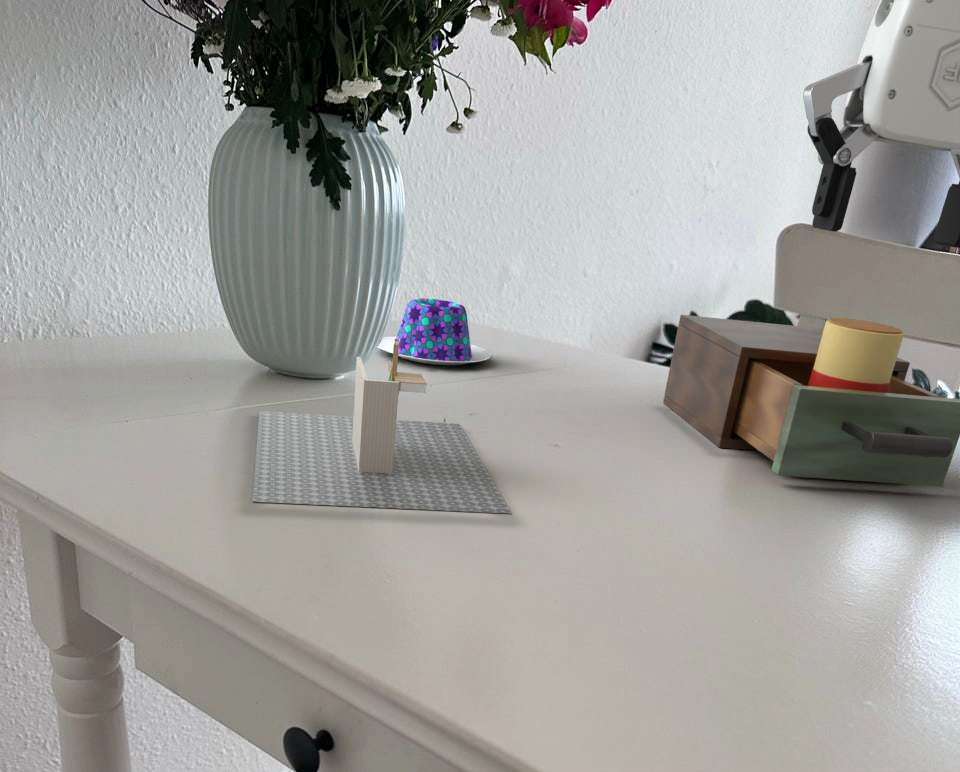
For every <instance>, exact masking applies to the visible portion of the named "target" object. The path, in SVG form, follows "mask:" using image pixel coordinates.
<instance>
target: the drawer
mask: <svg viewBox="0 0 960 772" xmlns="http://www.w3.org/2000/svg"><path fill="white" fill-rule="evenodd" d="M813 367H814V364H811V363H800V362H789V361H778V360H767V359H756V358H749V359H748V364H747V368H746V372H745V376H744V381H743V385H742V389H741V393H740V398H739V402H738V406H737V410H736V414H735V419H734V423H733V427H732V431H733V432H734V433H736V434H737V435H738V436H740V437H741V438H743V439H744V440H745V441H747V442H748V443H749V444H751V445H752V446H753V447H755V448H756V449H757V450H756V451H758V450H759V452H760V453H762V454H763V455H764V456H766V457H767V458H768V459H769V460H771V461H772V466H771V472H773V473H774V474H775V475H777V476H780V477H796V478H810V479H824V480H839V481H853V482H855V481H856V482H857V481H858V482H870V483H883V484H884V483H885V484H900V485H915V486H916V485H917V486H931V487H943V486H944V482H945V480H946V477H947V475H948V471H949V469H950V465H951V462H952V460H953V456H954V454H955V451H956V449H957V445H958V443H959V440H960V398H950V397H942V396H941V395H939V394H936V393H934V392H932V391H929V390H927V389H924V388H922V387H920V386H917V385H915V384H913V383H910V382H909V381H907V380H905V381H904V380H902V379H899V378H897V377H895V376H893V375H891V379H890V384H889V388H888V391H887V393H882V392H870V391H858V390H847V389H835V388H824V387H812V386H808V384H809V380H810V377H811V373H812V369H813Z"/></svg>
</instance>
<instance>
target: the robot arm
mask: <svg viewBox="0 0 960 772" xmlns="http://www.w3.org/2000/svg"><path fill="white" fill-rule="evenodd" d="M875 9H876V10H875V12H874V15H873V17H872V18H871V19H872V20H871V22H870V24H869V27H868V30H867V33H866V35H865V38H864V41H863V44H862V46H861V50H860V53H859V56H858V59H857V62H856V65H853V66H851V67H849V68H846V69H844V70H841V71H839V72H836V73H834V74H831V75H830V76H827V77H824V78H822V79H819V80H817V81H815V82H813V83H810V84H807V86H805V88H803V92H802V97H803V104H804V109H805V117H806V120H807V121H808V125H807V134H808V136H809V138H810V140H811V142H812V144H813V146H814V148H815V149H816V152H817V160H818V162H819V164H821V165H822V168H821V172H820V175H819V180H818V184H817V187H816V192H815V195H814V199H813V203H812V207H811V212H812V213H811V214H812V215H813V219H812V223H811V224H812V225H811V226H812V228H813V229H818V230H824V231H828V232H833V233H834V232H835V233H836V232H839V231H840V230H842V228H843V225H844V223H845V222H844V221H845V218H846V214H847V210H848V207H849V204H850V203H849V202H850V200H851V197H852V196H851V195H852V191H853V189H854V184H855V181H856V177H857V168H856V167H852V163H853V161H854V160H855V159H856V158H857V157H858V156H859V155H860V154H861V153H862V152H863V151H864V150H866V149H867V148H868V147H869V146H870V145H871V144H872V143H873V142H880V143H886V144H893V145H897V146H898V145H899V146H906V147H912V148H918V149H926V150H932V151H940V152H950V154H951V157H952V160H953V164H954V166H955V170H956V173H957V176H958V178H959V179H960V0H879V2H878V4H877V7H876V8H875ZM845 94H847V96H846V101H845V106H844V109H843V117H842V124H843V125H842V126H843V127H842V128H841V129H839V128H838V126H837V124H836V122H835V120H834V119H833V115H832V113H833V110H832V105H833V102H834V100H835V99H836V98H838V97H840V96H843V95H845ZM932 240H933V242H934V244H936V245H939V246H945V247H950V248H956V249H960V180H959V181H958V183H951V185H950V186H949V188H948V190H947V193H946V196H945V200H944V203H943V206H942V209H941V212H940V216H939V219H938V222H937V225H936V229H935V232H934V234H933V239H932Z"/></svg>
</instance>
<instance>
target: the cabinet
mask: <svg viewBox="0 0 960 772" xmlns="http://www.w3.org/2000/svg"><path fill="white" fill-rule="evenodd" d="M823 330H824V328H820V327H810V326H800V325H792V324H791V325H789V324H779V323H770V322H769V323H768V322H759V321H750V320H739V319H731V318H719V317H708V316H700V315H699V316H698V315H688V314H680V316H679V321H678V326H677V331H676V335H675V339H674V346H673V349H672V355H671V360H670V365H669V369H668V375H667V381H666V384H665V391H664V396H663V399H662V403H663V404H664V405H665V406H667V408H669V409H670V410H671V411H673V412H674V413H675V414H676V415H678V416H679V417H680V418H681V419H683V420H684V421H685V422H687V424H689V425H690V426H691V427H692V428H693V429H695V430H696V431H698V432H699V433H700V435H702V436H704V437H705V438H706V439H707V440H709V441H710V442H711V443H712V444H714V445H715V446H716V447H717V448H718V449H731V450H744V451H745V450H746V451H759V450H757V449H756V448H755V447H753V446H752V445H751V444H749V443H748V442H747V441H745V440H744V439H743V438H741V437H740V436H738V435H737V434H736V433H734V432H733V431H732V427H733V423H734V419H735V414H736V410H737V406H738V402H739V398H740V393H741V389H742V385H743V381H744V376H745V372H746V368H747V364H748V359H749V358H756V359H767V360H778V361H789V362H800V363H811V364H815V360H816V357H817V353H818V349H819V345H820V342H821V338H822V334H823ZM910 365H911V362H910V361H907V360H905V359H902V358H900V357H897V359H896V362H895V366H894V369H893V372H892V375H893V376H895V377H897V378H899V379H902V380H904V381H906V378H907V374H908V373H907V372H908V371H909V368H910ZM759 452H760V451H759Z"/></svg>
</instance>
